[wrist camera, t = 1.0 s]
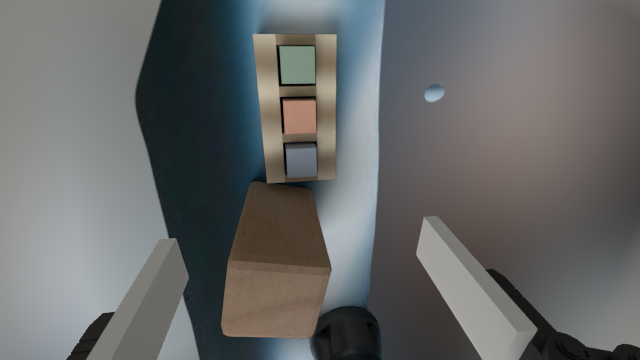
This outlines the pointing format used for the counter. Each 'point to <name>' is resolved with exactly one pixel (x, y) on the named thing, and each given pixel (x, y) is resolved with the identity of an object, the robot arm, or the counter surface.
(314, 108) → the terracotta button
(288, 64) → the green button
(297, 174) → the grey small cube
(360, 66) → the counter surface
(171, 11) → the counter surface
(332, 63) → the wooden slotted tray
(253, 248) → the block
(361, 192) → the counter surface
